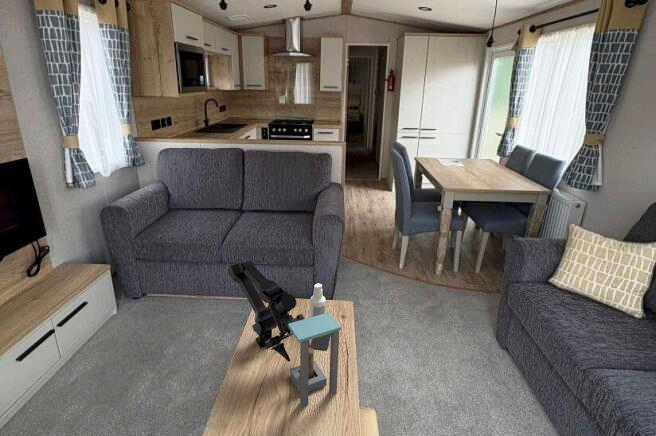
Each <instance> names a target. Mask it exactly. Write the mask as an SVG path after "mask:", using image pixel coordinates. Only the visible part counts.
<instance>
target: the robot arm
mask: <svg viewBox="0 0 656 436" xmlns="http://www.w3.org/2000/svg"><path fill="white" fill-rule="evenodd" d="M226 270H227V274H228V276H229V277H230V279H231V280H232V281H233V282H235V283H237V284H239V286H240V288H241V289H242V291H243V293H244V296H245V298H246V299H247V300H248V302H249V304H250V306H251V308H252V310H253V312H254V322H255V323H254V324H252V331H253V332H254V333H255V334H257V337H256V338H255V340H256V342H257V344H258V347H259V348H260V349H262V348H266V349H267V350H268V349H270V350H271V351H275V352H276V353H278V354H279V355H280V356H282V357H283V358H284V359H285V360H286V361H287V362H288V363H289V362H291V359H290V356H289V354H288V352H287V350H286V348H285V343H284V342H282V341H284V340H286V339H287V338H289V337H291V336H294V335H293V333H292V332H291V330H290V329H289V327H288V324H289V323H293V322H296V321H300V320H304V319H306V318H305V316H304V315H303V314H302V313H299V314H298V315H296V317H295V318H294V317H293V315H292V314H290V313H289V312H290V311H292V310H293V309H294V308H296V306H297V302H298V301H297V298H296V297H295V296H294V295H292V294H291V293H288V291H287V290H284V289H283V288H282V287H281V286H280V285H279V284H278V283H276V282H275V281H274V280H270V279H268V278H267V277H265V275H264V274H263V273H262V272H261V271H260V270H259V269H258V268H257V267H256V265H254V262H253V261H252V260H251V259H248V260H241V261H238V262H235V263H233V264H230V265H229V266H228V268H227V269H226ZM256 288H257V289H258V290H257V289H256ZM265 303H266V304H268V305H267V306H266V305H265ZM276 328H278V330H279V333H278V334H277V335H274V336H273V330H274V329H276ZM308 341H309V347H310V345H311V342H310V340H308Z"/></svg>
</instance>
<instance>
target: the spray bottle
mask: <svg viewBox="0 0 656 436" xmlns="http://www.w3.org/2000/svg"><path fill="white" fill-rule="evenodd" d="M312 294H313V295H312V296H310V299H309V304H310V305H309V318H311V317H314V316H318V315H321V314H325V313H326V301H327V300H326V297H325V296H323V295H324V294H323V284H321V283H319V282H318V283H316V284H314V287H313V293H312Z"/></svg>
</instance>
